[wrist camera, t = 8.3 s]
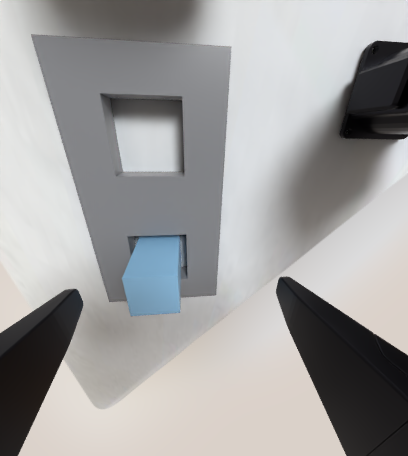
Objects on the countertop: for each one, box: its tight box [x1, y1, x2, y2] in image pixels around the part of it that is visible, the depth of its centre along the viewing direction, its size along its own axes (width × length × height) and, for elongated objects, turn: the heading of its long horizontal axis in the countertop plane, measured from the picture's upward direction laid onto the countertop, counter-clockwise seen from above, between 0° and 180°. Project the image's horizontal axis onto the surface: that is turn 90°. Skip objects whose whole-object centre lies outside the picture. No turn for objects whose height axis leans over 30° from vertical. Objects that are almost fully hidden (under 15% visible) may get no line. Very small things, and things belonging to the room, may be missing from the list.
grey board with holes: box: [31, 34, 231, 302], centre depth 18 cm, size 12×22×2 cm, turn 179°
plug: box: [122, 235, 181, 316], centre depth 18 cm, size 4×5×7 cm
